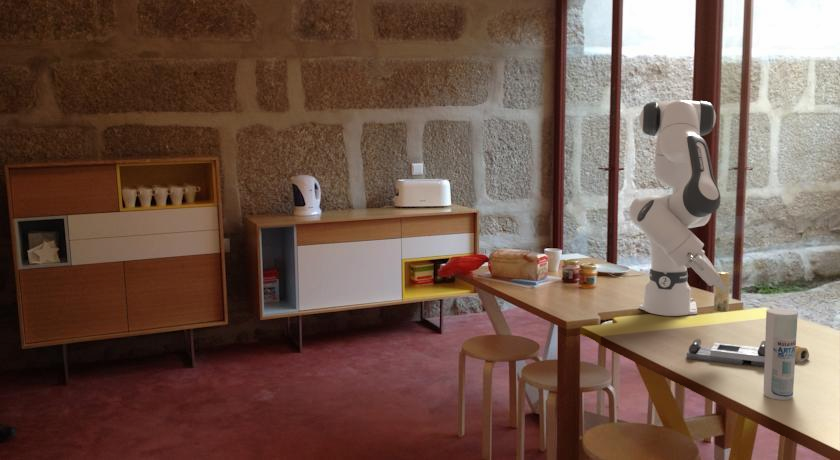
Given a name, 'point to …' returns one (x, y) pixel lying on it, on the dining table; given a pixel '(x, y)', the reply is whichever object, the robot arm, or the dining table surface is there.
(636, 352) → the dining table surface
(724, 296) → the gold rounded cylinder
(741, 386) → the dining table surface
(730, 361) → the grey roller block
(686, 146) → the robot arm
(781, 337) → the spray can
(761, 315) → the dining table surface
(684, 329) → the dining table surface
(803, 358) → the pastry
